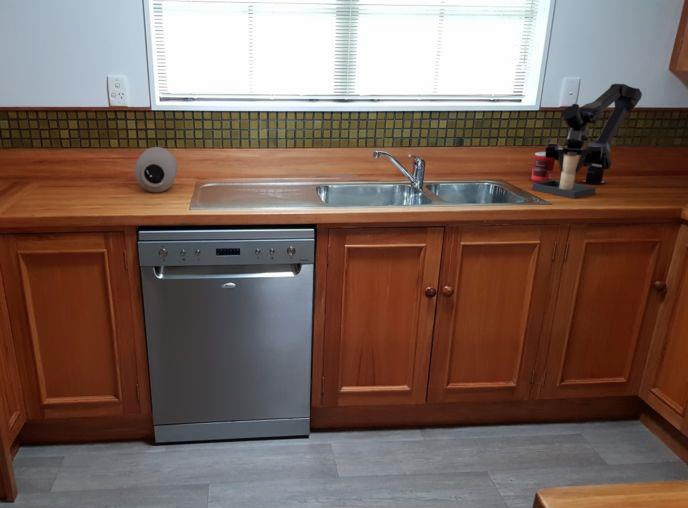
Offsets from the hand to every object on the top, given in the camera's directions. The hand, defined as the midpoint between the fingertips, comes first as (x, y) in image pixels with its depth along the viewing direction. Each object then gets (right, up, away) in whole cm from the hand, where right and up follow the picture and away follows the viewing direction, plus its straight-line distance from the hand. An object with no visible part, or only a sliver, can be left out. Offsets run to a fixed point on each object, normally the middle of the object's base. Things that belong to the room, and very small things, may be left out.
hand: (568, 171), depth 220 cm
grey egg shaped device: (-148, -7, +5) cm, 149 cm away
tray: (+1, -6, +7) cm, 9 cm away
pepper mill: (+1, -6, +4) cm, 7 cm away
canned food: (+1, +1, +26) cm, 26 cm away
